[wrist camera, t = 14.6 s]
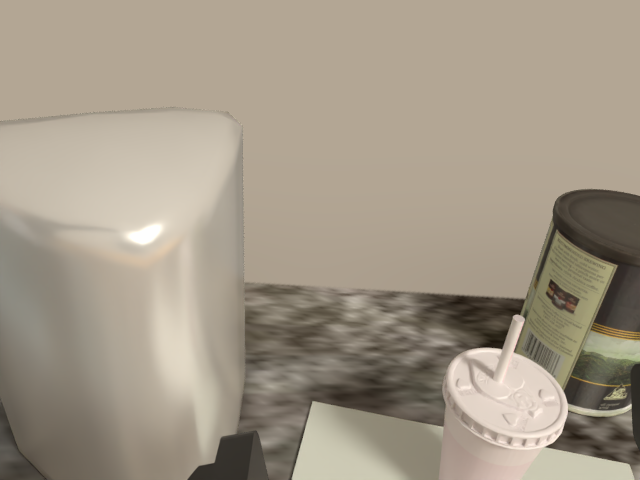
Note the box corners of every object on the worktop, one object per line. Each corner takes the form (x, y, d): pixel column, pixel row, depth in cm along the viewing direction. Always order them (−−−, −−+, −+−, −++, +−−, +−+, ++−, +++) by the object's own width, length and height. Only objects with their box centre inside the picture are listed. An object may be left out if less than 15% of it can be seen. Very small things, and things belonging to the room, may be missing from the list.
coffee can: (649, 364, 45) (726, 219, 38) (623, 442, 38) (712, 282, 31) (529, 311, 50) (577, 175, 43) (487, 372, 43) (535, 220, 36)
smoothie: (462, 437, 37) (515, 273, 30) (541, 511, 33) (625, 340, 26) (394, 483, 34) (435, 310, 26) (473, 571, 29) (547, 394, 22)
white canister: (230, 354, 43) (222, 79, 31) (307, 506, 32) (338, 174, 21) (18, 416, 36) (-88, 98, 25) (28, 630, 26) (-148, 250, 15)
